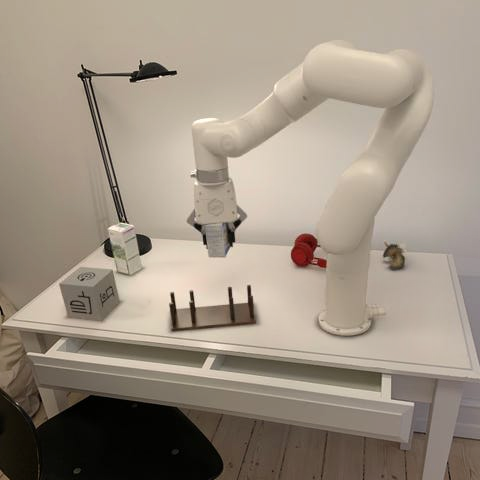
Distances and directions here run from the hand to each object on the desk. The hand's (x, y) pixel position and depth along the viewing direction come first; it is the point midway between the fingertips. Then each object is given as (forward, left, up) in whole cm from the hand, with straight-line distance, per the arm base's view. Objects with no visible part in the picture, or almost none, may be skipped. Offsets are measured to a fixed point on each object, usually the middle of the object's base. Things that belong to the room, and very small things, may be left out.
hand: (219, 245), depth 131 cm
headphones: (-32, -19, -16) cm, 40 cm away
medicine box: (0, 0, -2) cm, 2 cm away
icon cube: (+35, -2, -16) cm, 39 cm away
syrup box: (+28, -25, -16) cm, 41 cm away
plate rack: (+3, +8, -16) cm, 18 cm away
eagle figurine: (-51, -14, -16) cm, 55 cm away
